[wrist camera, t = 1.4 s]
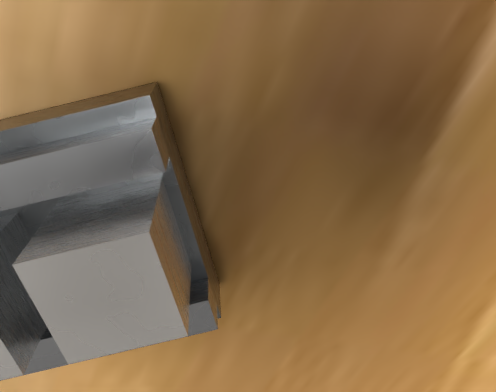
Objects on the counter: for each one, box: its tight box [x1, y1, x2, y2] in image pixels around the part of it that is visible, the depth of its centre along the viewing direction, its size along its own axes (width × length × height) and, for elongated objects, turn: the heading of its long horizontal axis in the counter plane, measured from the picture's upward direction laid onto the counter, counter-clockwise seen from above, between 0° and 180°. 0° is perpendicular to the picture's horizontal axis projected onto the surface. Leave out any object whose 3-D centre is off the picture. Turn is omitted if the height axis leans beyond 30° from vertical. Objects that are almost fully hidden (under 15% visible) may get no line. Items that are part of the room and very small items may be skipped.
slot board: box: [0, 82, 221, 381], centre depth 17 cm, size 12×10×4 cm
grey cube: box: [12, 178, 192, 364], centre depth 15 cm, size 4×4×4 cm
